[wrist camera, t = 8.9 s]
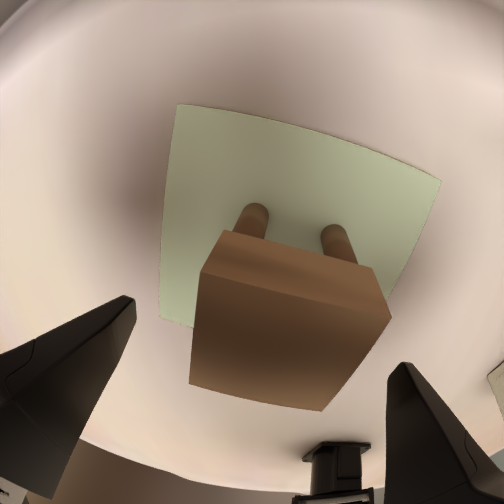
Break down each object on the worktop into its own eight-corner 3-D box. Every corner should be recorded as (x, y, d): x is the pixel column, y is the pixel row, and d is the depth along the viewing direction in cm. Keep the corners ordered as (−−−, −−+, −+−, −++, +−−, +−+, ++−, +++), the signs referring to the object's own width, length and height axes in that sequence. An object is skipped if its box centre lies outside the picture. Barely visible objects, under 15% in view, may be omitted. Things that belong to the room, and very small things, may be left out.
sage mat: (344, 351, 17) (346, 363, 16) (164, 307, 17) (158, 317, 16) (432, 175, 11) (441, 180, 10) (185, 104, 11) (177, 104, 10)
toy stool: (317, 311, 14) (321, 411, 9) (224, 289, 14) (189, 383, 9) (353, 226, 12) (391, 317, 6) (242, 197, 12) (199, 271, 6)
